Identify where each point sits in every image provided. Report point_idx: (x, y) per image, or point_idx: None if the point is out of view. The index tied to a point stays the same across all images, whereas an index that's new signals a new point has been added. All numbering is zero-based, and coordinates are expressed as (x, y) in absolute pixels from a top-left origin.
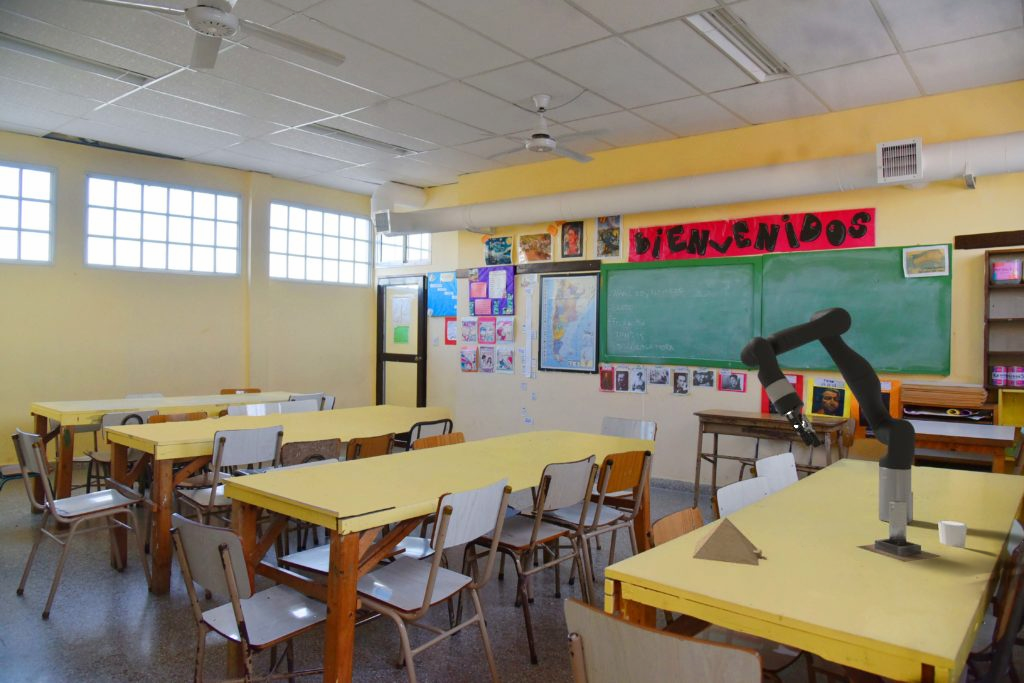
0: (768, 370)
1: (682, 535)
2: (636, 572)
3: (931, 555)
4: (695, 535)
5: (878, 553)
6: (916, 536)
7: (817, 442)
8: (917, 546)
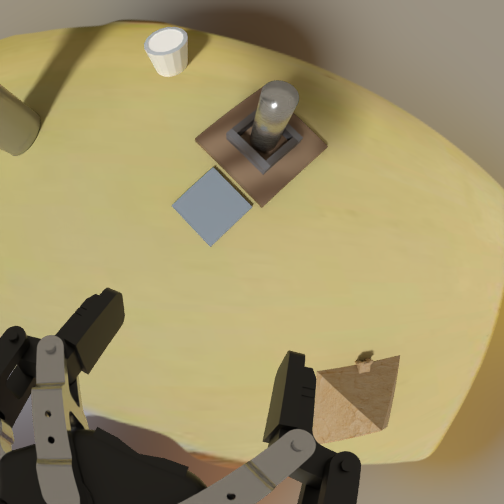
0: None
1: None
2: (435, 440)
3: None
4: None
5: (295, 175)
6: (110, 102)
7: (111, 313)
8: None
